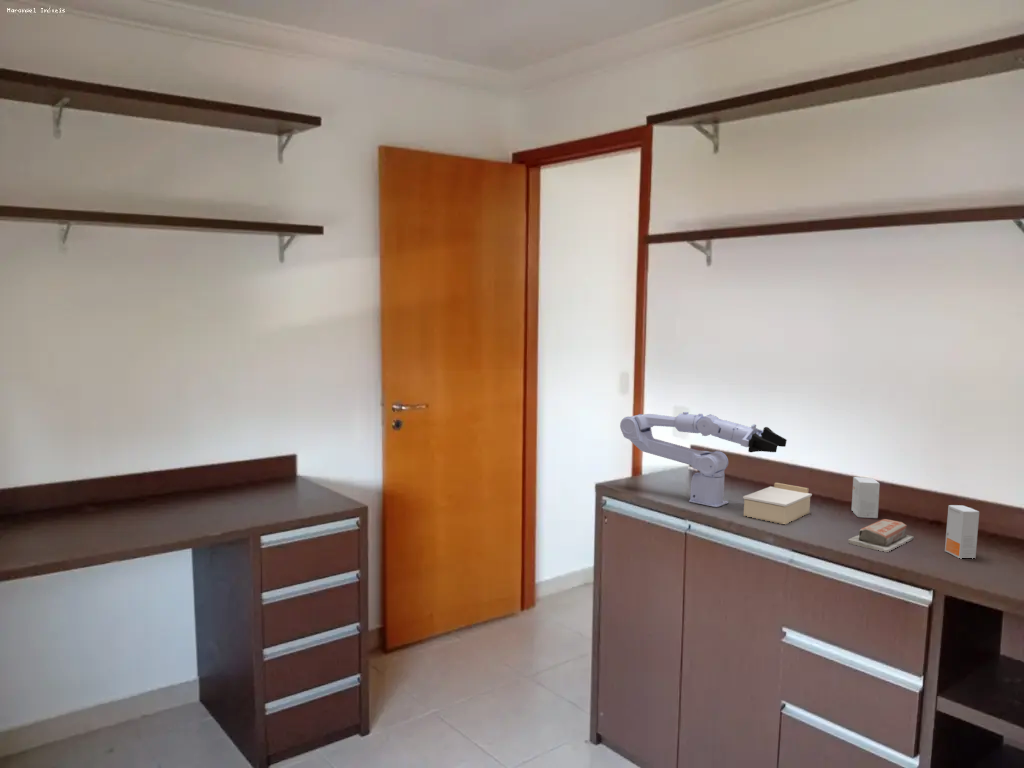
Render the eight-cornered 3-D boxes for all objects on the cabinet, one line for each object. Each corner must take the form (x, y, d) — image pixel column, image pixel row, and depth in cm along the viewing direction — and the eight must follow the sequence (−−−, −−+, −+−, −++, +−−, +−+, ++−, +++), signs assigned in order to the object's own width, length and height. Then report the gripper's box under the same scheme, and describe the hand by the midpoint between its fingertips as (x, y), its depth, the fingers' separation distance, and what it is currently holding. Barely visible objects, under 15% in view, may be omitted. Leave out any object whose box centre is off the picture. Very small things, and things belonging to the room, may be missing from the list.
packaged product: (876, 515, 209) (915, 523, 202) (874, 532, 210) (913, 541, 203) (848, 526, 197) (889, 535, 190) (847, 545, 197) (887, 554, 190)
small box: (877, 519, 222) (880, 483, 221) (857, 517, 223) (859, 482, 222) (870, 512, 230) (873, 477, 229) (850, 510, 231) (853, 476, 230)
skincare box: (943, 551, 192) (947, 504, 191) (959, 551, 193) (963, 504, 192) (959, 559, 186) (963, 511, 185) (976, 559, 187) (980, 511, 186)
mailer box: (743, 516, 221) (744, 499, 221) (770, 505, 235) (770, 489, 234) (784, 525, 213) (785, 507, 213) (809, 513, 227) (810, 496, 226)
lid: (743, 498, 221) (743, 492, 221) (771, 487, 235) (771, 481, 235) (785, 506, 212) (786, 500, 212) (812, 495, 227) (813, 489, 226)
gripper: (729, 425, 223) (774, 437, 215) (748, 416, 234) (792, 427, 226) (725, 447, 225) (770, 461, 217) (744, 437, 236) (787, 450, 228)
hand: (781, 445), depth 222 cm, fingers open, 7 cm apart
